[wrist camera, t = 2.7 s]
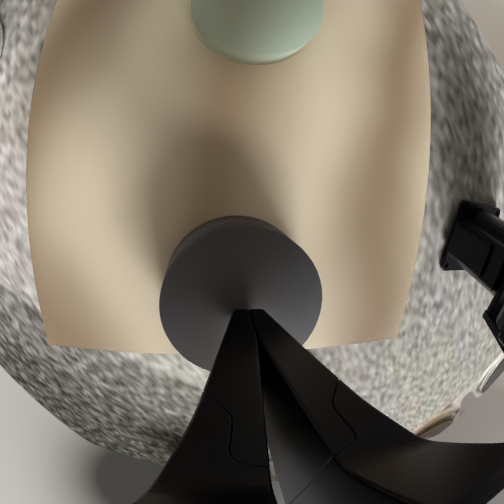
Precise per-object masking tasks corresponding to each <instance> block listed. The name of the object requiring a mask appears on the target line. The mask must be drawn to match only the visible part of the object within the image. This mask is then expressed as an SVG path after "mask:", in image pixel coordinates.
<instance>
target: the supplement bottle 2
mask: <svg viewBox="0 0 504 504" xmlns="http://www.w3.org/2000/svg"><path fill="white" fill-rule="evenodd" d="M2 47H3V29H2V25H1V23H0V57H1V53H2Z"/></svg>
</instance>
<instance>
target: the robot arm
mask: <svg viewBox="0 0 504 504" xmlns="http://www.w3.org/2000/svg"><path fill="white" fill-rule="evenodd" d="M499 215H500V209H499V208H497V207H494V206H490V205H486V204H482V203H478V202H474V201H470V200H462V202H461V204H460V207H459V210H458V214H457V217H456V220H455V224H454V227H453V230H452V233H451V236H450V239H449V242H448V245H447V248H446V250H445V253H444V256H443V259H442V261H441V264H440V267H441V268H442V269H443V270H445V271H447V270H465V271H467V272H468V273H469V274H470V275H471V276H472V277H474V278H475V279H476V280H477V281H478V282H479V283H480V284H481V285H483V286H484V287H485V288H486V289H487V290H488V291H489V292H490V293H491V294H492V295H493V296H494V297H493V299H492V301H491V303H490V305H489V306H488V308H487V310H485V312H484V314H483V318H484V320H485V321H486V323H487V325H488V327H489V328H490V330H491V332H492V333H493V335H494V337H495V338H496V340H497V342H498V344H499V345H500V347H501V349H502V351H503V353H504V221H503V220H501V219H500V218H499ZM267 443H268V445H267ZM268 446H269V450H270V453H271V457H272V460H273V464H274V467H275V471H276V474H277V477H278V481H279V483H280V487H281V491H282V494H283V497H284V501H285V504H504V443H450V442H437V441H430V440H427V439H424V438H421V437H419V436H417V435H415V434H413V433H412V432H410V431H408V430H407V429H405V428H404V427H402V426H401V425H399V424H398V423H396V422H395V421H393V420H392V419H390V418H389V417H387V416H386V415H384V414H383V413H381V412H380V411H379V410H377V409H376V408H374V407H373V406H372V405H370V404H369V403H368V402H366V401H365V400H363V399H362V398H361V397H360V396H359V395H357V394H356V393H355V392H354V391H352V390H351V389H350V388H349V387H348V386H347V385H346V384H344V383H343V382H342V381H341V380H338V378H337V377H336V376H335V375H334V374H333V373H332V372H331V371H330V370H329V369H327V368H326V367H325V366H324V365H323V364H322V363H321V362H320V361H319V360H318V359H316V358H315V357H314V356H313V355H312V354H311V353H310V352H309V351H308V350H307V349H305V348H304V347H303V346H302V345H301V344H300V343H299V342H298V341H297V340H296V339H295V338H294V337H292V336H291V335H290V334H289V333H288V332H287V331H286V330H285V329H284V328H283V327H282V326H281V325H280V324H279V323H277V322H276V321H275V320H274V319H273V318H272V317H271V316H270V315H269V314H268V313H267V312H266V311H265V310H263V309H250V310H249V311H248V310H247V309H235V310H234V311H233V313H232V315H231V318H230V321H229V324H228V326H227V329H226V332H225V334H224V337H223V340H222V342H221V345H220V348H219V350H218V353H217V356H216V358H215V361H214V364H213V366H212V369H211V372H210V374H209V377H208V380H207V382H206V385H205V388H204V392H203V393H202V395H201V398H200V400H199V403H198V405H197V408H196V410H195V412H194V415H193V417H192V419H191V421H190V423H189V425H188V427H187V429H186V431H185V432H184V434H183V436H182V438H181V439H180V441H179V443H178V444H177V446H176V448H175V450H174V451H173V453H172V455H171V456H170V458H169V459H168V461H167V463H166V464H165V466H164V468H163V469H162V471H161V473H160V474H159V476H158V477H157V479H156V480H155V481H154V483H153V484H152V485H151V486H150V488H149V489H148V490H147V491H146V492H145V493H144V494H143V495H142V496H141V497H140V498H139V499H137V500H136V501H135V502H134V503H133V504H277V501H276V498H275V495H274V492H273V488H272V483H271V476H270V469H269V467H270V466H269V455H268Z"/></svg>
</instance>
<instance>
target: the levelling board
mask: <svg viewBox="0 0 504 504" xmlns="http://www.w3.org/2000/svg"><path fill="white" fill-rule="evenodd" d="M430 133H431V101H430V77H429V63H428V53H427V43H426V35H425V28H424V22H423V15H422V10H421V4H420V0H57V2H56V5H55V7H54V10H53V13H52V16H51V19H50V23H49V26H48V29H47V33H46V36H45V40H44V43H43V47H42V51H41V55H40V60H39V64H38V69H37V74H36V79H35V85H34V91H33V97H32V104H31V112H30V120H29V130H28V144H27V167H26V194H27V217H28V230H29V241H30V250H31V258H32V265H33V272H34V278H35V284H36V289H37V294H38V299H39V304H40V309H41V313H42V317H43V322H44V326H45V330H46V333H47V337H48V341H49V344H51V345H58V346H66V347H75V348H84V349H95V350H106V351H120V352H136V353H160V354H181V355H182V356H183V357H185V358H186V359H187V360H189V361H190V362H192V363H193V364H195V365H197V366H199V367H201V368H203V369H206V370H209V371H211V369H212V366H213V364H214V361H215V358H216V356H217V353H218V350H219V348H220V345H221V342H222V340H223V337H224V334H225V332H226V329H227V326H228V324H229V321H230V318H231V315H232V313H233V311H234V310H235V309H247V310H248V311H249V310H250V309H263V310H265V311H266V312H267V313H268V314H269V315H270V316H271V317H272V318H273V319H274V320H275V321H276V322H277V323H279V324H280V325H281V326H282V327H283V328H284V329H285V330H286V331H287V332H288V333H289V334H290V335H291V336H292V337H294V338H295V339H296V340H297V341H298V342H299V343H300V344H301V345H302V346H303V347H304V348H305V349H313V348H323V347H332V346H341V345H349V344H357V343H364V342H371V341H378V340H384V339H390V338H396V337H397V335H398V332H399V328H400V325H401V321H402V318H403V314H404V310H405V307H406V303H407V299H408V295H409V291H410V287H411V282H412V278H413V273H414V269H415V264H416V259H417V254H418V248H419V243H420V237H421V231H422V224H423V217H424V210H425V202H426V193H427V183H428V172H429V157H430Z"/></svg>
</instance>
